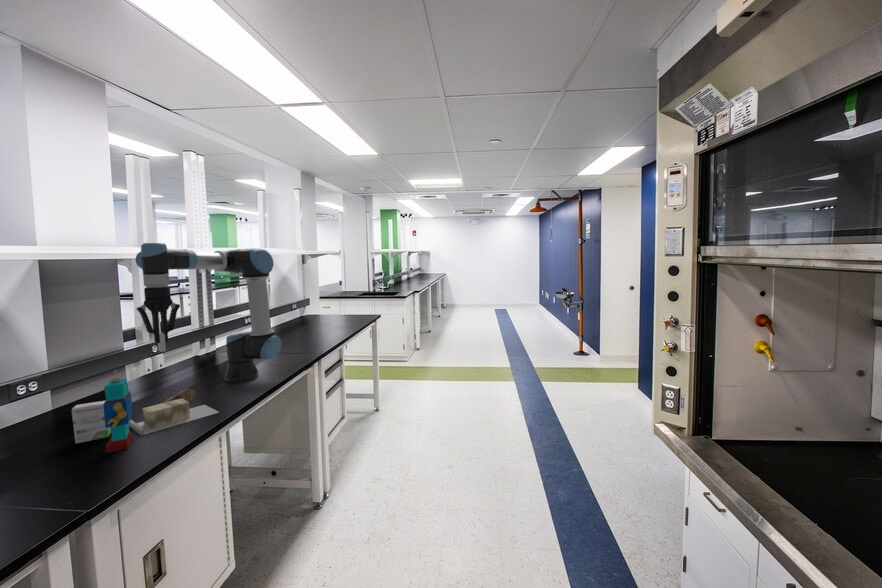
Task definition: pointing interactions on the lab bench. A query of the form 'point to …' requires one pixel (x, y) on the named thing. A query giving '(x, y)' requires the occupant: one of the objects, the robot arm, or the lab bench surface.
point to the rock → (182, 395)
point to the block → (166, 413)
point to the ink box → (89, 422)
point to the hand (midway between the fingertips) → (162, 351)
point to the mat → (194, 414)
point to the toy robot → (118, 413)
